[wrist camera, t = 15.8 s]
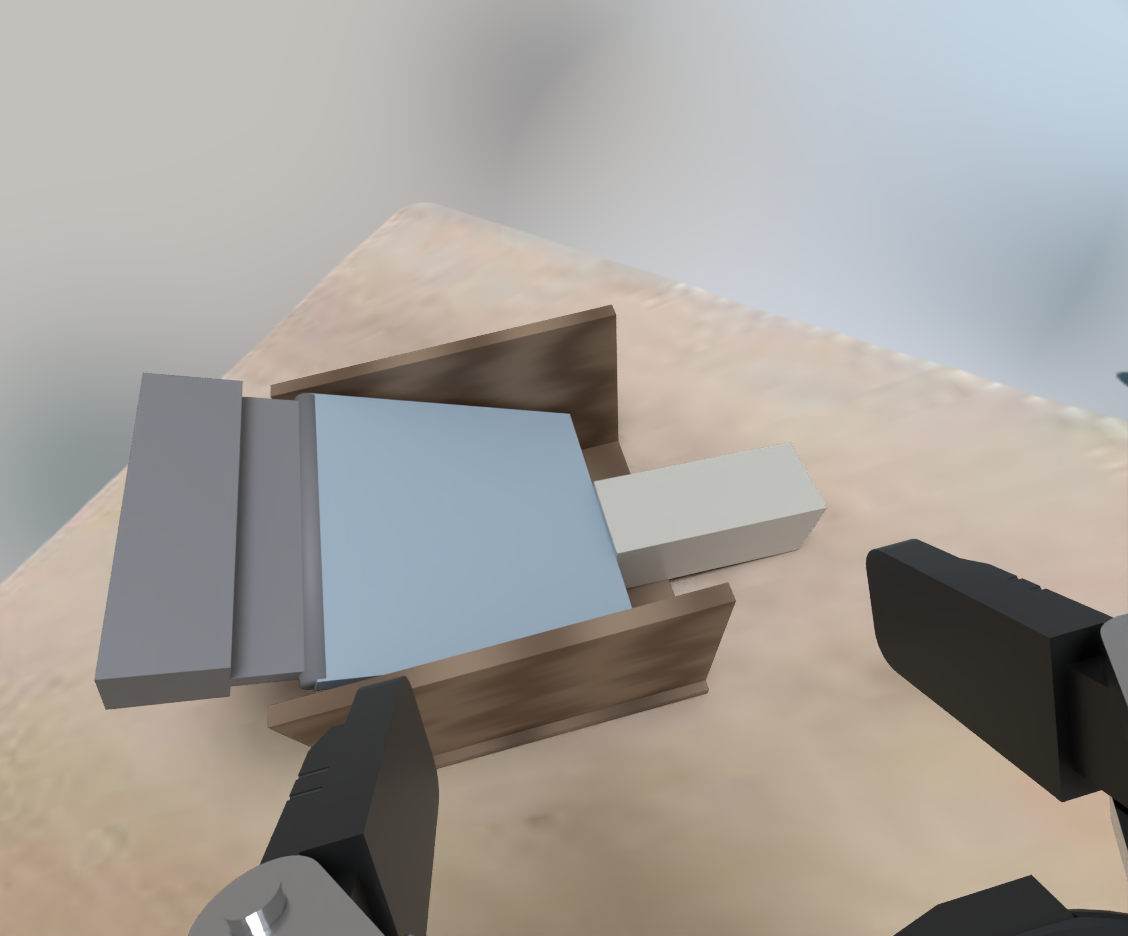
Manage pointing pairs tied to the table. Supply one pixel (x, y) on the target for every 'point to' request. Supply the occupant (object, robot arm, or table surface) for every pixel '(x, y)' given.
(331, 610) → the trapdoor
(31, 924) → the table surface
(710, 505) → the grey stone pillar
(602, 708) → the trapdoor stand
